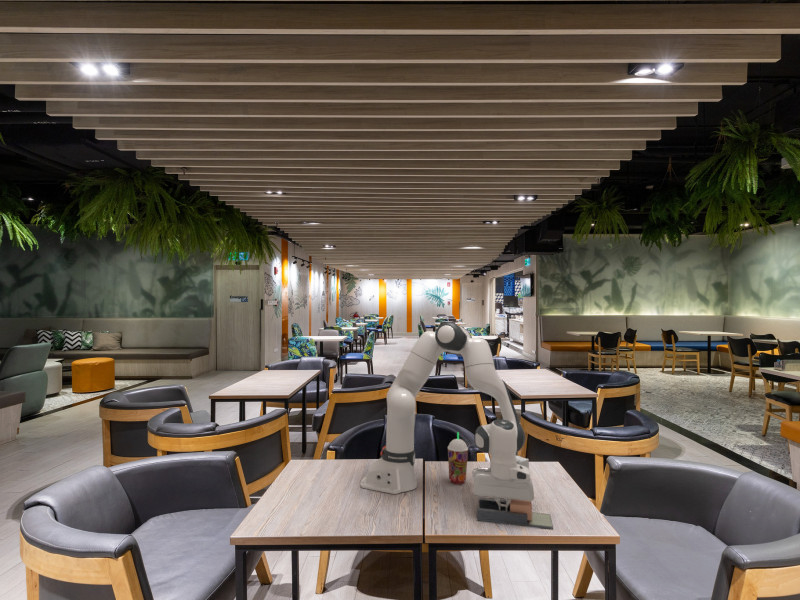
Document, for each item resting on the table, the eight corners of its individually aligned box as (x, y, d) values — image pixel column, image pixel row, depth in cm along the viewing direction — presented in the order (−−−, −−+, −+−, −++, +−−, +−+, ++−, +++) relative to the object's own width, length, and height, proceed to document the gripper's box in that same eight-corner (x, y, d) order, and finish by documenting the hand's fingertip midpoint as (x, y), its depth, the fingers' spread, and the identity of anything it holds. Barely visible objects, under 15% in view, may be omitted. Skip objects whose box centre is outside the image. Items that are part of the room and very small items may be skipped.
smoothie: (454, 486, 181) (455, 436, 181) (443, 479, 188) (443, 430, 188) (471, 483, 185) (472, 433, 185) (460, 476, 192) (460, 428, 192)
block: (510, 518, 152) (510, 504, 152) (510, 511, 157) (510, 498, 157) (532, 520, 150) (532, 506, 151) (531, 514, 155) (531, 500, 155)
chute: (477, 520, 152) (477, 509, 152) (479, 508, 162) (479, 497, 162) (553, 529, 147) (553, 518, 147) (550, 515, 156) (550, 505, 156)
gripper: (471, 469, 154) (471, 511, 154) (534, 475, 150) (534, 518, 150) (473, 463, 161) (472, 503, 160) (533, 469, 156) (533, 509, 156)
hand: (503, 510), depth 155 cm, fingers closed
